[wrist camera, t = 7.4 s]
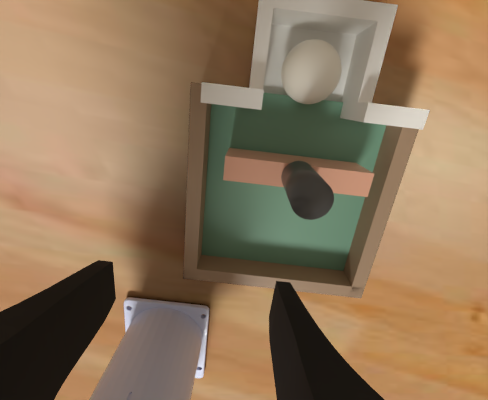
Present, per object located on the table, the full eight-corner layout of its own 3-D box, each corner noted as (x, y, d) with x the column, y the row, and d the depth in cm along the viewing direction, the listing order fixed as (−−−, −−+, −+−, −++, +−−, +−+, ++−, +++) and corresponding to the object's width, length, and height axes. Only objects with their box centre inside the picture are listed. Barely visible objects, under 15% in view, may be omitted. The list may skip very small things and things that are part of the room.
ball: (331, 64, 18) (326, 115, 17) (280, 57, 17) (274, 109, 17) (355, 28, 14) (348, 92, 14) (290, 20, 14) (283, 84, 14)
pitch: (347, 274, 23) (372, 318, 19) (191, 257, 23) (176, 296, 18) (422, 30, 17) (489, 3, 12) (204, 2, 16) (185, -37, 12)
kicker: (349, 186, 19) (400, 230, 13) (227, 171, 19) (213, 208, 12) (356, 159, 18) (415, 191, 12) (229, 144, 18) (217, 167, 12)
